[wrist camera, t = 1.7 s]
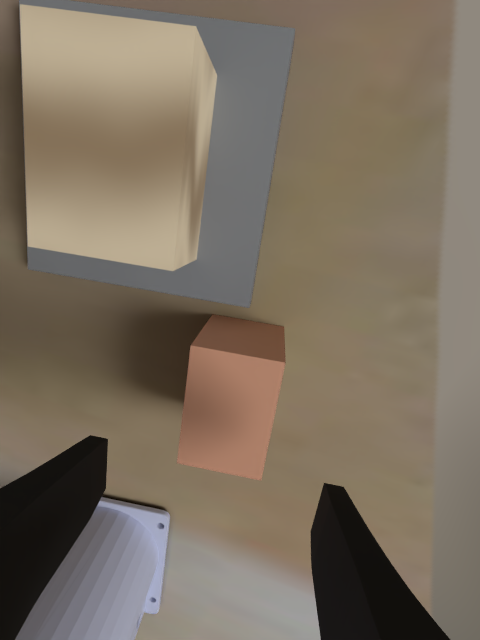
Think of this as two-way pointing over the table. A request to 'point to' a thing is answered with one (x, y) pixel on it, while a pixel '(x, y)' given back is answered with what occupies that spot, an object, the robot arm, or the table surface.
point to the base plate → (210, 162)
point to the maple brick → (115, 135)
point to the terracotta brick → (231, 396)
